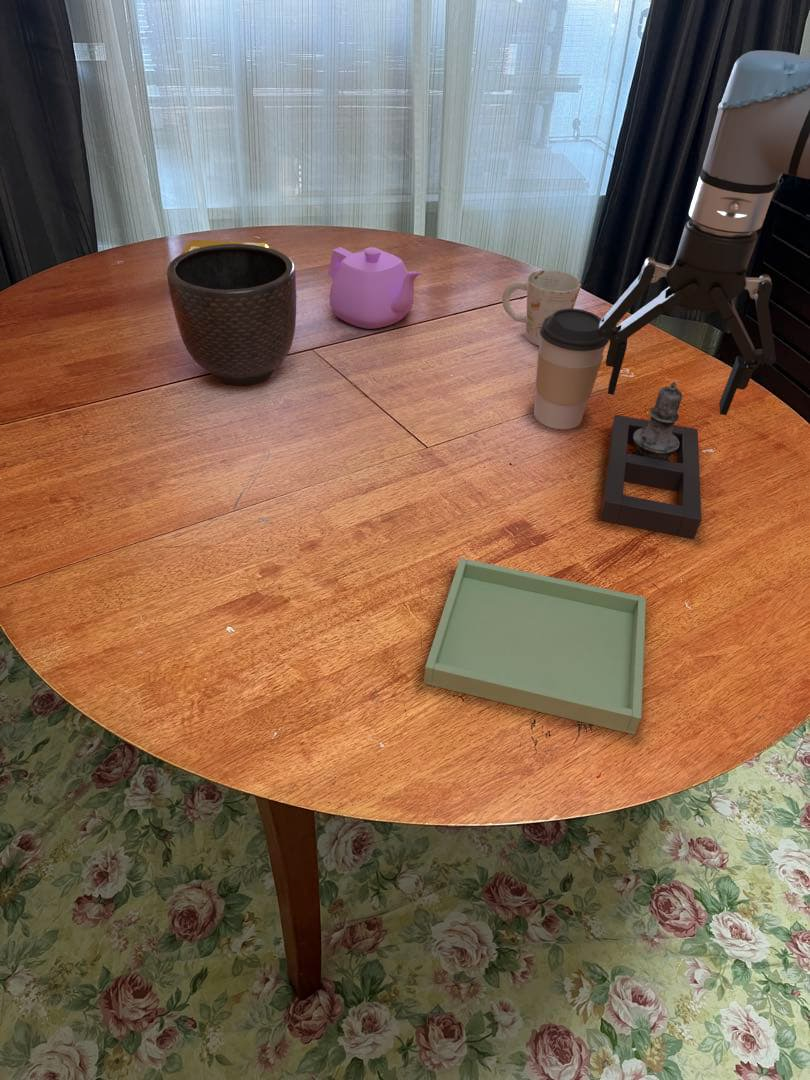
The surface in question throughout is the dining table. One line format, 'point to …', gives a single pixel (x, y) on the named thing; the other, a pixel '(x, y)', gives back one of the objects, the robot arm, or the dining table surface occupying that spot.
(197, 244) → the element tile
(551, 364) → the coffee cup
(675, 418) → the dark grey chess piece
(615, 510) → the rack
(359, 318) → the teapot
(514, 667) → the tray
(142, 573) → the dining table surface
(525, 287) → the mug
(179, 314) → the planter
